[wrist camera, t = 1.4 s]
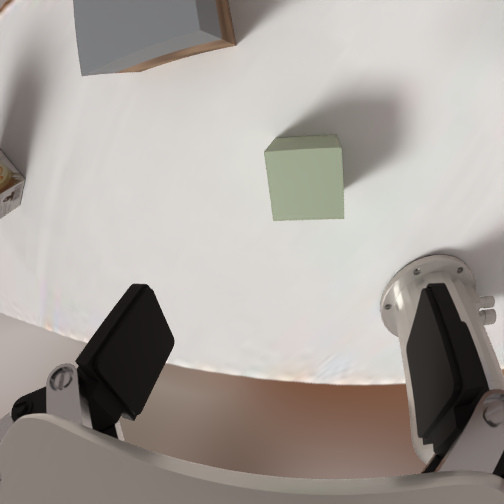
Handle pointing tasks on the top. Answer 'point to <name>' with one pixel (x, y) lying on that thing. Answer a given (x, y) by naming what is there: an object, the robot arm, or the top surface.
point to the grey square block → (139, 30)
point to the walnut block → (225, 42)
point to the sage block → (305, 177)
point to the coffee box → (9, 186)
